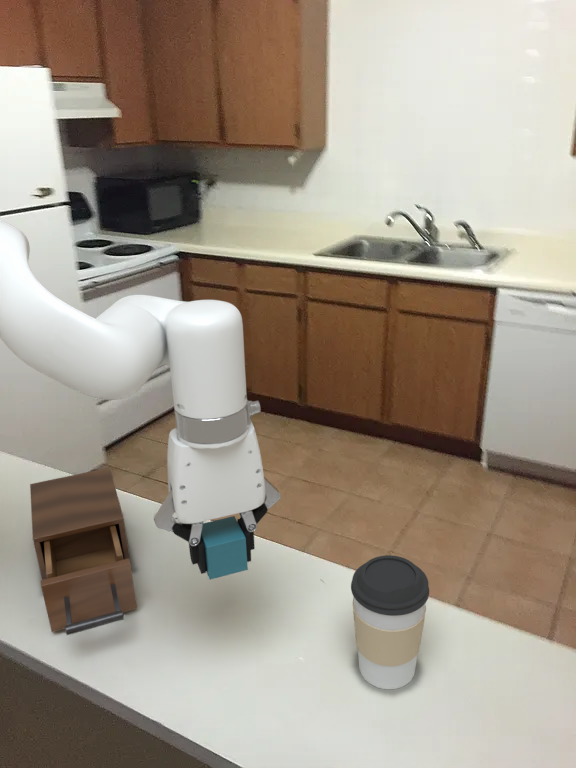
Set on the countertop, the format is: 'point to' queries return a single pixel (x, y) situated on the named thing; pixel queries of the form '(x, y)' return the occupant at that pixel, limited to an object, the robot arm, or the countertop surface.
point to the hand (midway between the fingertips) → (223, 558)
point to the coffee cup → (389, 619)
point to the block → (224, 547)
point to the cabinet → (75, 509)
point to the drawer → (87, 580)
